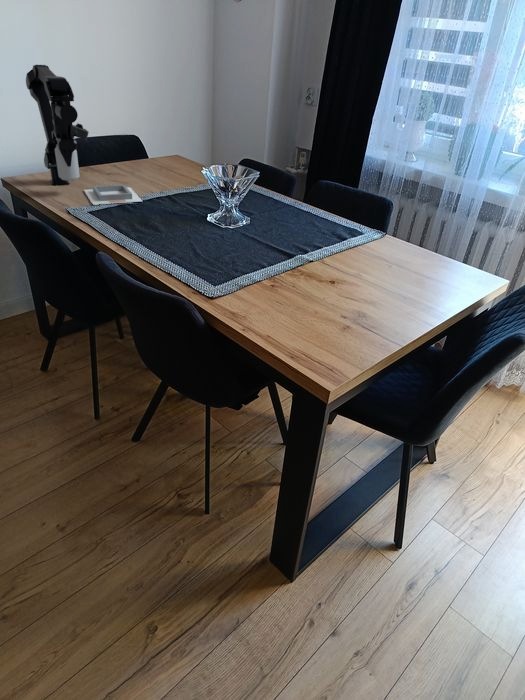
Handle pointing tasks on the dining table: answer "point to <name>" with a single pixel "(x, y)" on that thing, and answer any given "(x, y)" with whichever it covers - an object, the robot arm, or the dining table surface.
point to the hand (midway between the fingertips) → (67, 163)
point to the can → (63, 169)
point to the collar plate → (111, 194)
